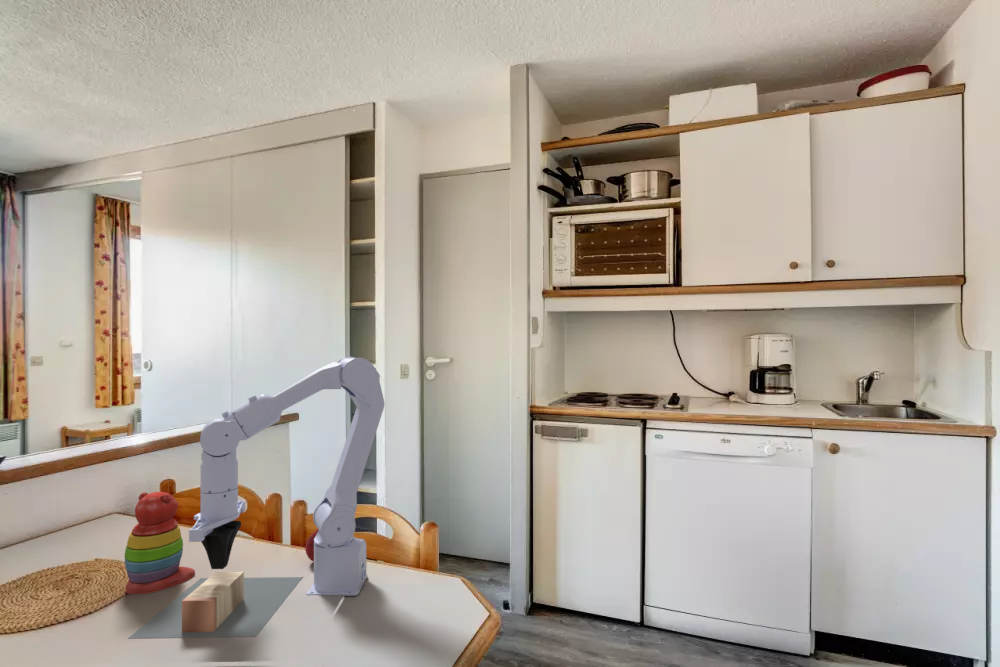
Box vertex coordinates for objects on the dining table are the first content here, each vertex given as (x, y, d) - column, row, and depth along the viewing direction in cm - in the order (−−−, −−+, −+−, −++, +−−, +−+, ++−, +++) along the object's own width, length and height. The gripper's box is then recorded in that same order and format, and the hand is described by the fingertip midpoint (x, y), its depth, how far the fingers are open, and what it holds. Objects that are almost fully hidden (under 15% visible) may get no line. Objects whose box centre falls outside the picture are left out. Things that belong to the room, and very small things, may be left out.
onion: (325, 571, 104) (325, 532, 104) (299, 568, 105) (299, 530, 105) (339, 559, 109) (339, 522, 109) (315, 556, 110) (315, 520, 111)
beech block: (243, 571, 91) (213, 600, 81) (243, 599, 91) (213, 631, 81) (215, 572, 91) (181, 600, 81) (215, 600, 91) (181, 632, 81)
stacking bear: (200, 575, 102) (200, 486, 102) (154, 600, 92) (154, 502, 92) (158, 569, 105) (158, 483, 105) (108, 593, 95) (109, 497, 95)
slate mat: (303, 579, 100) (303, 577, 100) (255, 639, 80) (255, 636, 80) (200, 580, 100) (200, 578, 100) (127, 641, 80) (127, 638, 80)
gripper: (218, 477, 95) (218, 550, 95) (169, 502, 81) (169, 588, 81) (256, 477, 95) (256, 549, 95) (214, 502, 81) (214, 587, 81)
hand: (219, 567), depth 88 cm, fingers closed
